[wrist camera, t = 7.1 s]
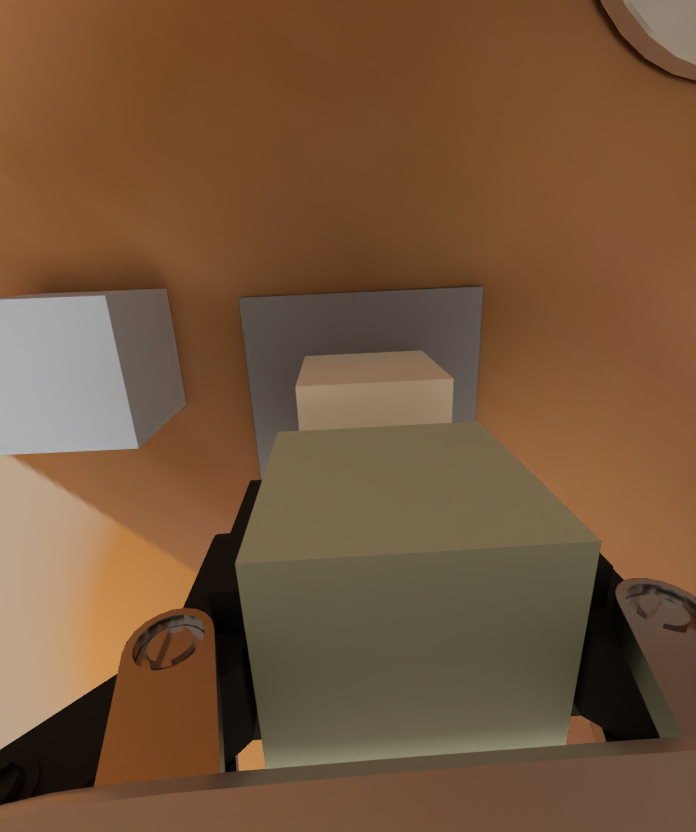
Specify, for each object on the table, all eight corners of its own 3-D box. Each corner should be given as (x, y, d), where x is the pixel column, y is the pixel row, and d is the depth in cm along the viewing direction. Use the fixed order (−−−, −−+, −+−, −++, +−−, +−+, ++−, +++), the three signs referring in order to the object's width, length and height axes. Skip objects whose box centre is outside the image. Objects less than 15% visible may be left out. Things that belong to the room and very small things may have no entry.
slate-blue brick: (44, 293, 17) (-65, 302, 12) (166, 288, 17) (105, 295, 13) (74, 409, 19) (-12, 455, 14) (187, 404, 19) (138, 448, 14)
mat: (240, 297, 17) (238, 298, 17) (480, 286, 18) (483, 286, 17) (266, 507, 21) (265, 512, 20) (467, 496, 21) (470, 500, 21)
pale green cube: (277, 432, 10) (235, 564, 6) (478, 421, 10) (601, 541, 6) (294, 596, 12) (271, 806, 7) (468, 585, 12) (558, 784, 7)
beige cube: (305, 355, 18) (295, 386, 13) (421, 350, 18) (453, 378, 13) (313, 462, 20) (307, 523, 15) (420, 456, 20) (447, 515, 15)
